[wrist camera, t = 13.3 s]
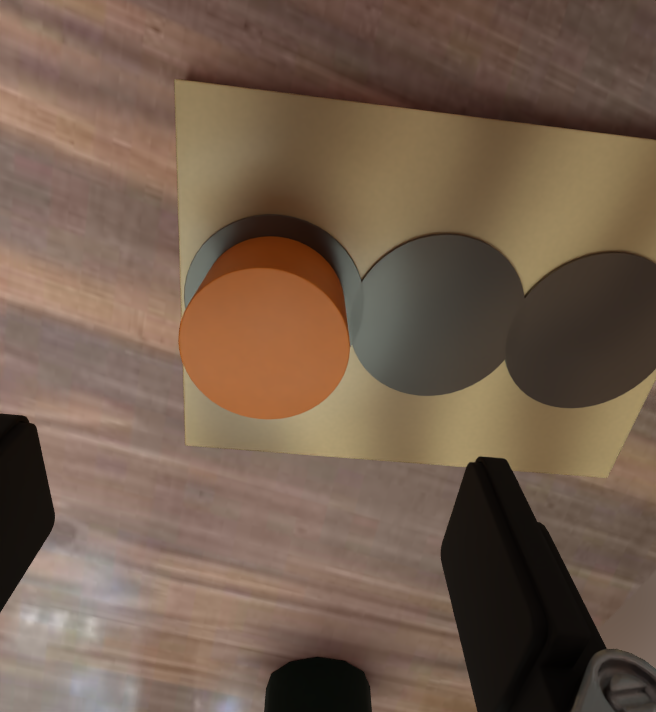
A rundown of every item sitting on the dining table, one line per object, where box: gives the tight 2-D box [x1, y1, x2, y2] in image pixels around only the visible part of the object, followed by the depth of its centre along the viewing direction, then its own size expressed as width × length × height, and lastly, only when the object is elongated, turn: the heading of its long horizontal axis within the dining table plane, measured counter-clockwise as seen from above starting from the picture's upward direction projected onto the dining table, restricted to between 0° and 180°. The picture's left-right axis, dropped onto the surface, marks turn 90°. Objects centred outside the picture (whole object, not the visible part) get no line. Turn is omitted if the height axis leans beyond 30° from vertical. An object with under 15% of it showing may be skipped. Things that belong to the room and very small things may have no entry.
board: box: [174, 79, 656, 478], centre depth 22 cm, size 22×16×2 cm
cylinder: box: [179, 236, 350, 419], centre depth 19 cm, size 6×6×4 cm
